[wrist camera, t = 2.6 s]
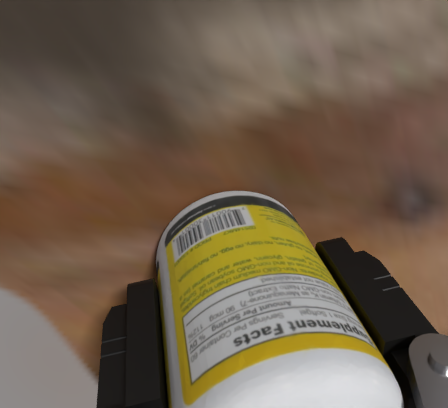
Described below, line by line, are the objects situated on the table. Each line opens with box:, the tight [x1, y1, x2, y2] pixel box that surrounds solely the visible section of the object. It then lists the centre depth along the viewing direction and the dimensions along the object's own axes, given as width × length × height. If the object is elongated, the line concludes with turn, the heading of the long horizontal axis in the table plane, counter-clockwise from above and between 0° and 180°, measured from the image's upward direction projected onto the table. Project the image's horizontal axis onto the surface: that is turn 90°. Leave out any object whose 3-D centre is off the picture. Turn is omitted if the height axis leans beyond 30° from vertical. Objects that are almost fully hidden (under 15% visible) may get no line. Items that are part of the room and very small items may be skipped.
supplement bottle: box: [156, 191, 404, 408], centre depth 9 cm, size 5×5×8 cm
